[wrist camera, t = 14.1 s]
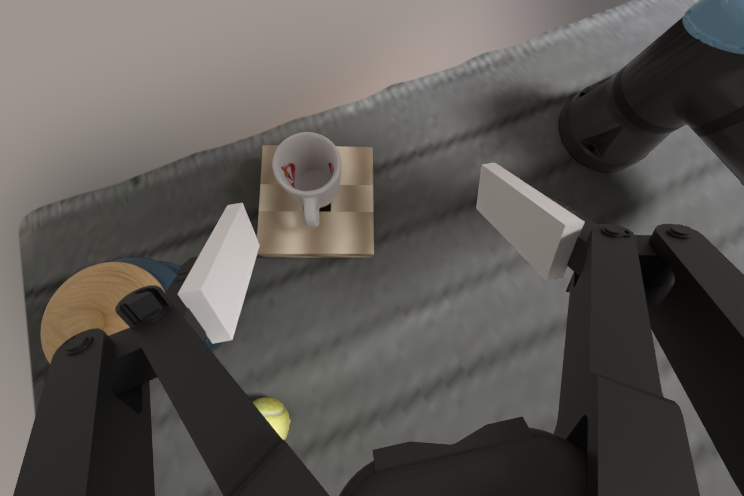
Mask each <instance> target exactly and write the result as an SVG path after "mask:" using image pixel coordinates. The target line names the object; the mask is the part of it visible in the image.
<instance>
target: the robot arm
mask: <svg viewBox="0 0 744 496" xmlns="http://www.w3.org/2000/svg"><path fill="white" fill-rule="evenodd" d="M686 124H687V125H688V126H689V127H690V128H691V129H692V130H693V131H694V132H695V133H696V134H697V135H698V136H699V137H700V138H701V139H702V140H703V141H704V142H705V144H706V145H707V146H708V147H709V148H710V149H711V150H712V151H713V152H714V153H715V154H716V155H717V157H718V158H719V159H720V160H721V161H722V162H723V163H724V164H725V165H726V166H727V167H728V168H729V170H730V171H731V172H732V173H733V174H734V175H735V176H736V177H737V178H738V179H739V180H740V182H741V184H742V185H744V0H700V1H699V2H697V3H695V4H694V5H693V6H691V7H690V8H689V9H688V10H687V11H686V12H685V15H684V16H683V17H682V18H681V19H680V20H679V21H678V22H676V23H675V24H674V25H673V26H672V27H671V28H669V29H668V30H667V31H666V32H665V33H663V34H662V35H661V36H660V37H659V38H658V39H656V40H655V41H654V42H653V43H652V44H651V45H649V46H648V47H647V48H646V49H645V50H643V51H642V52H641V53H640V54H639V55H638V56H636V57H635V58H634V59H633V60H632V61H631V62H629V63H628V64H627V65H626V66H625V67H624V68H623V69H621V70H620V71H619V72H617V73H615V74H613V75H611V76H609V77H607V78H605V79H603V80H601V81H599V82H597V83H595V84H593V85H590V86H588V87H586V88H585V89H583V90H582V91H580V92H579V93H578V94H577V95H575V96H574V97H573V98H572V99H571V100H570V101H569V102H568V103H567V104H566V105H565V107H564V109H563V110H562V113H561V116H560V121H559V128H560V134H561V138H562V140H563V143H564V145H565V146H566V148H567V149H568V151H569V152H570V153H571V154H572V156H573V157H574V158H576V159H577V160H578V161H579V162H581V163H582V164H584V165H585V166H587V167H589V168H592V169H595V170H598V171H604V172H614V171H619V170H622V169H625V168H627V167H629V166H631V165H633V164H635V163H637V162H639V161H640V160H642V159H643V158H645V157H646V156H647V155H648V153H649V152H650V151H652V150H653V149H654V148H655V147H656V146H657V145H658V144H659V143H660V142H662V141H663V140H664V139H665V138H666V137H667V136H668V135H669V134H670V133H671V132H673V131H675V130H677V129H678V128H680V127H682V126H684V125H686ZM476 209H477V210H478V211H479V212H480V213H481V214H482V215H483V216H484V217H485V218H486V219H487V220H488V221H489V222H490V223H491V224H492V225H493V226H494V227H495V228H496V229H497V231H498V232H499V233H500V234H501V235H502V236H503V237H504V238H505V239H506V240H507V241H508V242H509V243H510V244H511V245H512V246H513V247H514V248H515V249H516V250H517V251H518V252H519V253H520V254H521V255H522V256H523V257H524V258H525V259H526V260H527V261H528V262H529V263H530V264H531V265H532V267H533V268H534V269H535V270H536V271H537V272H538V273H539V274H540V275H541V276H542V277H543V278H544V279H545V280H551V279H556V278H561V277H563V276H564V273H565V271H566V268H567V266H568V267H570V268H571V269H572V270H573V271H574V273H573V275H572V278H571V280H570V283H569V285H568V287H567V290H566V292H569V291H570V296H569V307H568V318H567V328H566V339H565V349H564V360H563V370H562V381H561V392H560V402H559V413H558V421H557V425H556V428H555V431H554V434H552V433H549V432H546V431H543V430H538V429H534V428H528V426H527V424H526V422H525V420H524V418H523V417H519V418H514V419H510V420H505V421H501V422H496V423H492V424H487V425H485V426H484V427H482V428H480V429H479V430H477V431H475V432H474V433H472V434H470V435H469V436H467V437H465V438H464V439H462V440H460V441H459V442H457V443H455V444H452V445H447V444H434V443H421V442H406V443H402V444H397V445H393V446H388V447H384V448H379V449H375V450H373V456H374V461H373V462H371V463H369V464H368V465H366V466H365V467H363V468H362V469H361V470H360V471H358V472H357V473H356V474H355V475H354V476H353V477H352V478H351V479H350V481H349V482H348V483H347V485H346V486H345V487H344V488H343V490H342V492H341V493H340V495H339V496H700V494H699V490H698V485H697V480H696V475H695V471H694V466H693V461H692V457H691V452H690V447H689V443H688V438H687V433H686V428H685V424H684V419H683V415H682V412H681V409H680V407H679V406H678V405H677V404H676V402H674V401H672V400H669V399H666V398H664V397H663V394H662V390H661V385H660V379H659V373H658V367H657V361H656V355H655V349H654V344H653V338H652V332H651V329H652V331H653V333H654V335H655V337H656V338H657V340H658V342H659V344H660V346H661V348H662V349H663V351H664V353H665V355H666V357H667V359H668V361H669V362H670V364H671V366H672V368H673V370H674V372H675V373H676V375H677V377H678V379H679V381H680V383H681V385H682V386H683V388H684V390H685V392H686V394H687V396H688V397H689V399H690V401H691V403H692V405H693V407H694V409H695V410H696V412H697V414H698V416H699V418H700V420H701V421H702V423H703V425H704V427H705V429H706V431H707V433H708V434H709V436H710V438H711V440H712V442H713V444H714V445H715V447H716V449H717V451H718V453H719V455H720V457H721V458H722V460H723V462H724V464H725V466H726V468H727V469H728V471H729V473H730V475H731V477H732V479H733V480H734V482H735V484H736V485H737V487H738V489H739V490H740V492H741V494H742V496H744V275H743V274H742V273H741V272H740V271H739V270H738V269H737V268H736V267H735V266H734V265H733V264H732V263H731V262H730V261H729V260H728V259H727V258H726V257H725V256H724V255H723V254H722V253H721V252H720V251H719V250H718V249H717V248H716V247H715V246H713V245H712V244H711V243H710V242H709V241H708V240H707V239H706V238H705V237H704V236H703V235H702V234H701V233H699V232H698V231H696V230H693V229H691V228H690V227H687V226H683V225H675V224H662V225H658V226H657V227H656V228H655V230H654V232H653V234H652V235H634V234H633V232H631V231H630V230H629V229H627V228H624V227H622V226H619V225H615V224H606V223H603V224H596V223H594V222H593V221H591V220H590V219H588V218H586V217H585V216H583V215H582V214H580V213H579V212H577V211H576V212H575V210H574V209H572V208H571V207H568V205H566V204H565V203H563V202H561V201H560V200H557V199H554V198H551V197H546V196H545V195H543V194H542V193H540V192H539V191H537V190H536V189H534V188H533V187H531V186H530V185H528V184H527V183H525V182H524V181H522V180H521V179H519V178H518V177H516V176H515V175H513V174H512V173H510V172H508V171H507V170H505V169H504V168H502V167H501V166H499V165H498V164H496V163H489V164H482V166H481V174H480V182H479V190H478V197H477V205H476ZM259 246H260V244H259V242H258V239H257V237H256V235H255V232H254V230H253V227H252V225H251V222H250V220H249V218H248V215H247V213H246V210H245V208H244V205H243V203H237V204H231V205H227V207H226V209H225V210H224V212H223V214H222V216H221V218H220V219H219V221H218V223H217V225H216V226H215V228H214V230H213V232H212V234H211V235H210V237H209V239H208V241H207V242H206V244H205V246H204V248H203V250H202V251H201V253H200V255H199V257H194V258H191V259H189V260H188V261H187V262H186V263H185V264H184V265H183V266H182V267H181V268H180V270H179V272H178V273H177V276H175V278H174V280H173V283H171V285H170V286H169V288H168V290H167V291H166V293H164V291H163V290H162V289H161V287H159V286H157V285H150V286H145V287H142V288H139V289H137V290H135V291H133V292H131V293H129V294H128V295H126V296H125V297H124V298H123V299H122V300H120V301H119V303H118V304H117V306H116V307H115V312H116V313H117V314H118V315H119V316H120V317H121V319H122V320H123V321H124V322H125V323H126V324H127V325H128V326H129V327H130V328H127V329H124V330H122V331H119V332H117V333H114V334H112V335H109V336H108V335H107V334H106V333H105V332H104V331H103V330H101V329H99V328H95V329H89V330H86V331H83V332H81V333H79V334H77V335H74V336H72V337H71V338H69V339H68V340H66V341H65V342H64V343H63V344H62V345H61V346H60V347H59V348H58V349H57V350H56V351H55V353H54V355H53V357H52V360H51V364H50V367H49V371H48V374H47V378H46V381H45V385H44V388H43V392H42V396H41V399H40V403H39V406H38V410H37V413H36V417H35V420H34V424H33V428H32V431H31V435H30V438H29V442H28V445H27V449H26V452H25V456H24V459H23V463H22V466H21V470H20V474H19V477H18V481H17V484H16V488H15V491H14V495H13V496H155V490H154V470H153V449H152V429H151V408H150V388H149V381H150V380H152V379H154V378H156V377H158V378H159V380H160V382H161V383H162V385H163V387H164V389H165V391H166V392H167V394H168V396H169V398H170V400H171V401H172V403H173V405H174V407H175V409H176V410H177V412H178V414H179V416H180V418H181V419H182V421H183V423H184V425H185V427H186V429H187V430H188V432H189V434H190V436H191V438H192V439H193V441H194V443H195V445H196V447H197V448H198V450H199V452H200V454H201V456H202V457H203V459H204V461H205V463H206V465H207V466H208V468H209V470H210V472H211V474H212V475H213V477H214V479H215V481H216V483H217V484H218V486H219V488H220V490H221V492H222V494H223V496H329V495H328V493H327V492H326V491H325V490H324V488H323V487H322V486H321V485H320V483H319V482H318V481H317V480H316V479H315V477H314V476H313V475H312V474H311V472H310V471H309V470H308V469H307V467H306V466H305V465H304V464H303V463H302V461H301V460H300V459H299V458H298V456H297V455H296V454H295V453H294V451H293V450H292V449H291V448H290V447H289V445H288V444H287V443H286V442H285V441H284V440H283V439H282V438H281V437H280V436H279V434H278V433H277V432H276V431H275V430H274V428H273V427H272V426H271V425H270V423H269V422H268V421H267V420H266V418H265V417H264V416H263V415H262V413H261V412H260V411H259V410H258V409H257V407H256V406H255V405H254V404H253V402H252V401H251V400H250V399H249V397H248V396H247V395H246V394H245V392H244V391H243V390H242V389H241V387H240V386H239V385H238V384H237V383H236V381H235V380H234V379H233V378H232V376H231V375H230V374H229V373H228V371H227V370H226V369H225V368H224V366H223V365H222V364H221V363H220V362H219V360H218V359H217V358H216V357H215V355H214V354H213V353H212V352H211V350H210V349H209V348H208V347H207V345H206V344H205V343H204V342H203V341H204V339H205V336H206V335H207V336H208V338H209V339H210V341H211V342H212V344H214V343H219V342H224V341H230V340H233V336H234V333H235V329H236V326H237V322H238V319H239V316H240V312H241V309H242V305H243V302H244V298H245V295H246V291H247V288H248V284H249V281H250V277H251V274H252V270H253V267H254V263H255V260H256V257H257V253H258V250H259Z"/></svg>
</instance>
